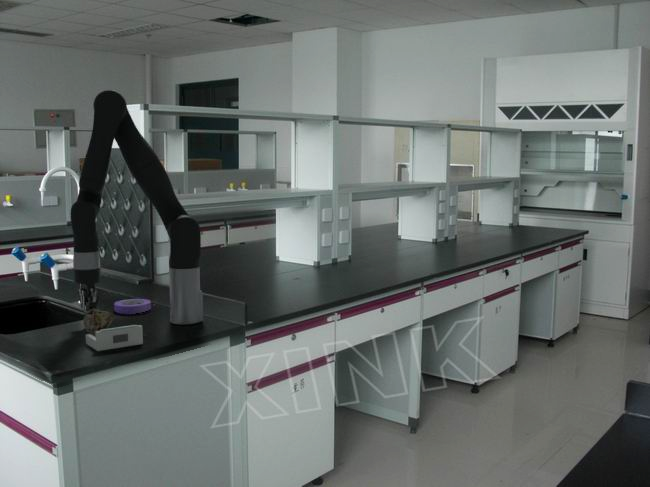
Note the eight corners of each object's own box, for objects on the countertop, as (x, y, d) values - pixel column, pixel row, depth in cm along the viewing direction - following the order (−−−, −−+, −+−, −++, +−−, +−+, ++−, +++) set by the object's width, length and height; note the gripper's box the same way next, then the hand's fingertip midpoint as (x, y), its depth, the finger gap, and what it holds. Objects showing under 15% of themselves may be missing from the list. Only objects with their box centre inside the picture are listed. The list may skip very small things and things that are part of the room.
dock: (129, 336, 192) (129, 318, 192) (143, 343, 185) (142, 325, 184) (85, 343, 185) (85, 324, 184) (97, 351, 177) (97, 331, 177)
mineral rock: (91, 340, 189) (90, 311, 188) (79, 338, 191) (78, 310, 190) (118, 331, 198) (117, 304, 198) (106, 330, 200) (106, 303, 199)
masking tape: (134, 318, 216) (133, 307, 216) (106, 315, 222) (106, 303, 221) (158, 312, 227) (158, 300, 226) (131, 308, 232) (131, 297, 232)
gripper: (107, 268, 197) (109, 326, 199) (92, 263, 207) (94, 318, 209) (80, 270, 192) (83, 330, 194) (67, 265, 203) (69, 321, 205)
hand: (89, 323), depth 202 cm, fingers closed
